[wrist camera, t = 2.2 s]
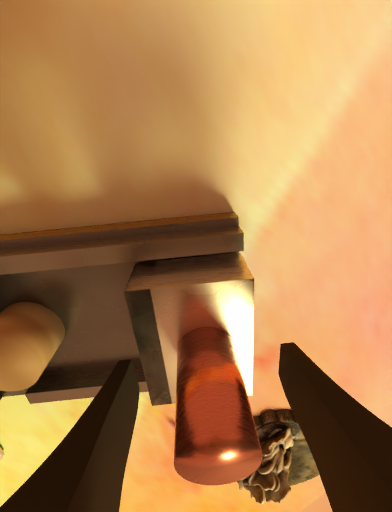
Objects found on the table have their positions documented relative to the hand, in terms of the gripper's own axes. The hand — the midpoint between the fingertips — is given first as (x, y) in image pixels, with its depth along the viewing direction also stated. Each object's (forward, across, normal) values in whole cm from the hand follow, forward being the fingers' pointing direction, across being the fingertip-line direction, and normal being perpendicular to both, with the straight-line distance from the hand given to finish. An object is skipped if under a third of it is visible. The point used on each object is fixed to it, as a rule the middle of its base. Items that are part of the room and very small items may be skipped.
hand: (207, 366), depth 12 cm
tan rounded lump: (+4, +11, 0) cm, 12 cm away
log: (+6, -6, +19) cm, 21 cm away
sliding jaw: (+4, +1, 0) cm, 4 cm away
